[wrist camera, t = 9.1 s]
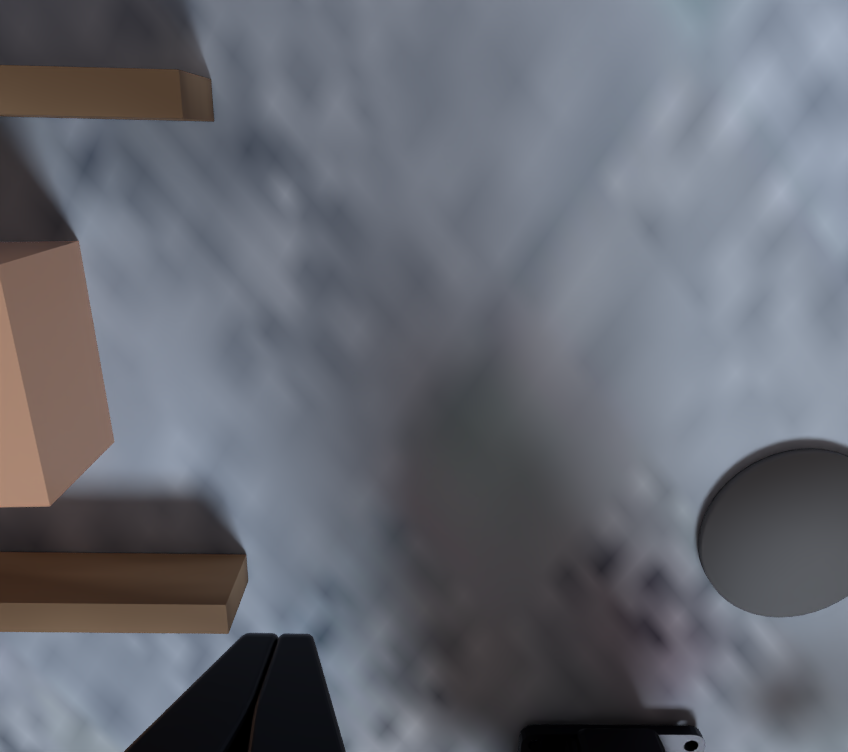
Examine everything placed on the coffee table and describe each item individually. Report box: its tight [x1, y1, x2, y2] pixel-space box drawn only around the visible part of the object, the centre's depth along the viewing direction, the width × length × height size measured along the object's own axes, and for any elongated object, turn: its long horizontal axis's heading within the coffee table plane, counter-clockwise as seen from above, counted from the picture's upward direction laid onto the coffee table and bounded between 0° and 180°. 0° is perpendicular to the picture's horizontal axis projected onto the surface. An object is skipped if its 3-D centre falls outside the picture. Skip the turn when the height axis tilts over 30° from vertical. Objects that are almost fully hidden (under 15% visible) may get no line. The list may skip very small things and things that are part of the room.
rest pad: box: [699, 449, 848, 617], centre depth 22 cm, size 6×6×1 cm
